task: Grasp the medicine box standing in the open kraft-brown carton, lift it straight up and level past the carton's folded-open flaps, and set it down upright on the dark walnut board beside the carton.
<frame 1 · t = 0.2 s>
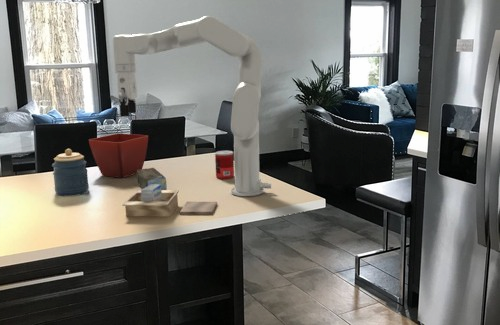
hand: (128, 114, 206), 31 cm above the kitchen island, tool pointing down, fingers open, 9 cm apart
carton: (152, 210, 188), on the kitchen island
medicine box: (152, 211, 188), resting in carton
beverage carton: (151, 188, 220), on the kitchen island
canned food: (225, 177, 234), on the kitchen island
walnut board: (199, 209, 189), on the kitchen island
plant pot: (121, 174, 244), on the kitchen island
canister: (72, 192, 215), on the kitchen island
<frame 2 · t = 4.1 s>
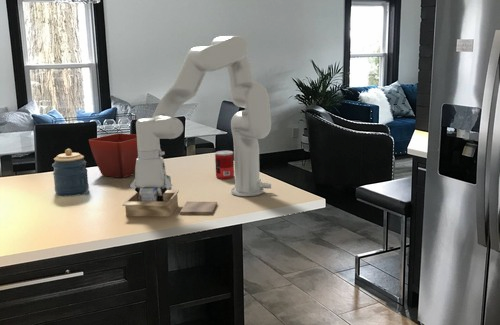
hand: (152, 205, 188), 2 cm above the kitchen island, tool pointing down, fingers closed on medicine box, 4 cm apart
medicine box: (152, 211, 188), resting in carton, touching gripper
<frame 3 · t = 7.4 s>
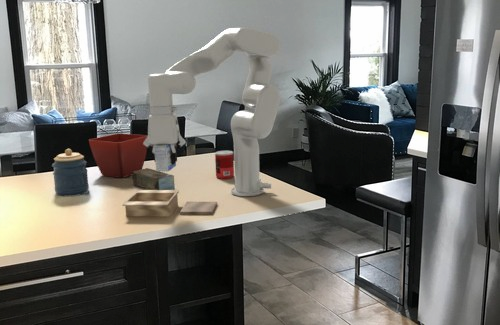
hand: (166, 163, 185), 17 cm above the kitchen island, tool pointing down, fingers closed on medicine box, 4 cm apart
medicine box: (166, 169, 186), point 15 cm above the kitchen island, touching gripper
when the fingers open (4 cm above the kitchen island, at t = 10.9 s): medicine box drops 1 cm, resting on walnut board.
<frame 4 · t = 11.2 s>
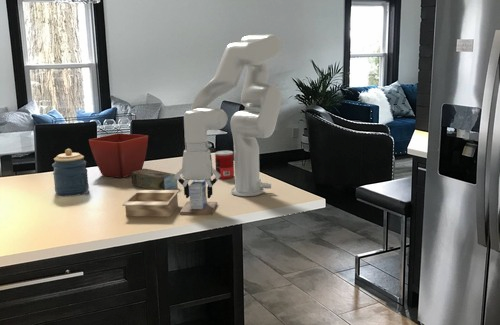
hand: (198, 196, 188), 5 cm above the kitchen island, tool pointing down, fingers open, 7 cm apart
medicine box: (198, 206, 189), point 1 cm above the kitchen island, touching walnut board
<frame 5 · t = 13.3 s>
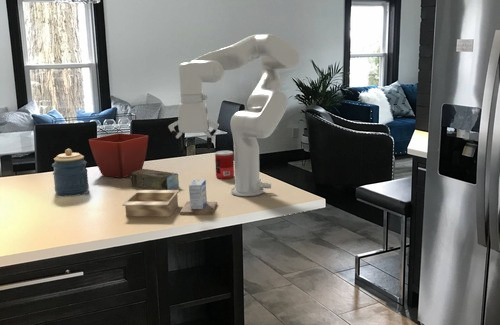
hand: (195, 148, 187), 21 cm above the kitchen island, tool pointing down, fingers open, 9 cm apart
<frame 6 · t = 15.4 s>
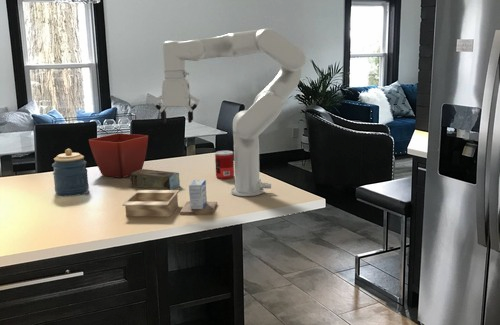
hand: (177, 122, 200), 28 cm above the kitchen island, tool pointing down, fingers open, 9 cm apart
at the end: medicine box inside the target area on the walnut board (0.1 cm from its centre), point 0.8 cm above the walnut board's base; medicine box tilted 0°; the gripper is holding nothing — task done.
